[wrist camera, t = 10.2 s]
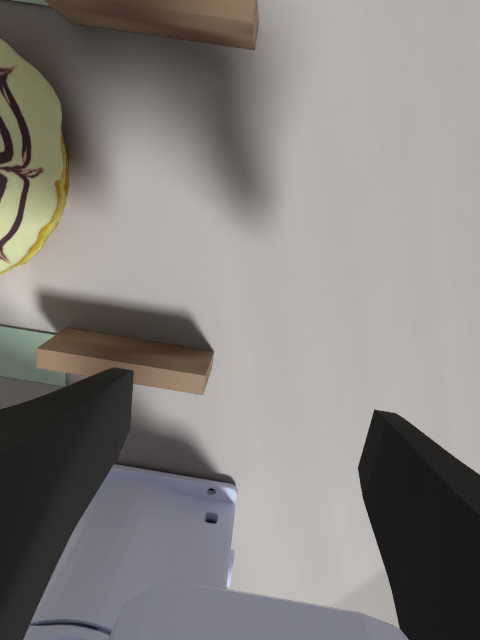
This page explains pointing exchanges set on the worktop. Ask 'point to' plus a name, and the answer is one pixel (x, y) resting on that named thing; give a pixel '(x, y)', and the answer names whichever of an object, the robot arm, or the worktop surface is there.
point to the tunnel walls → (174, 22)
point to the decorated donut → (28, 160)
